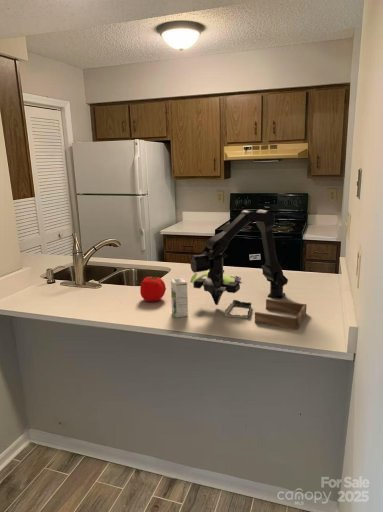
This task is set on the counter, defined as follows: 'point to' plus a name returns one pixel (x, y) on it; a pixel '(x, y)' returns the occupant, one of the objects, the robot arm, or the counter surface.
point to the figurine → (226, 278)
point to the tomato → (152, 289)
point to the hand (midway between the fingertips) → (216, 304)
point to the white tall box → (179, 297)
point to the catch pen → (282, 320)
